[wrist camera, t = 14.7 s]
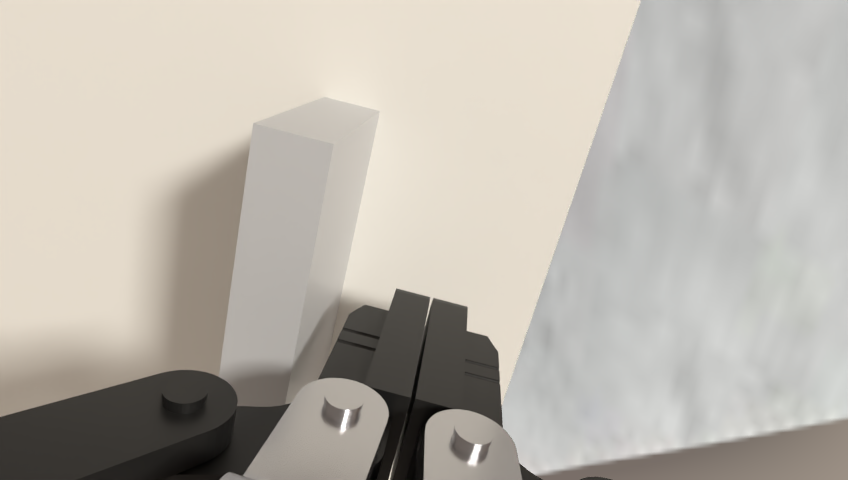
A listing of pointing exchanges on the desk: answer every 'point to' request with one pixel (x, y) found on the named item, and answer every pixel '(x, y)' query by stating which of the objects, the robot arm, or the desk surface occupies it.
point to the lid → (279, 177)
